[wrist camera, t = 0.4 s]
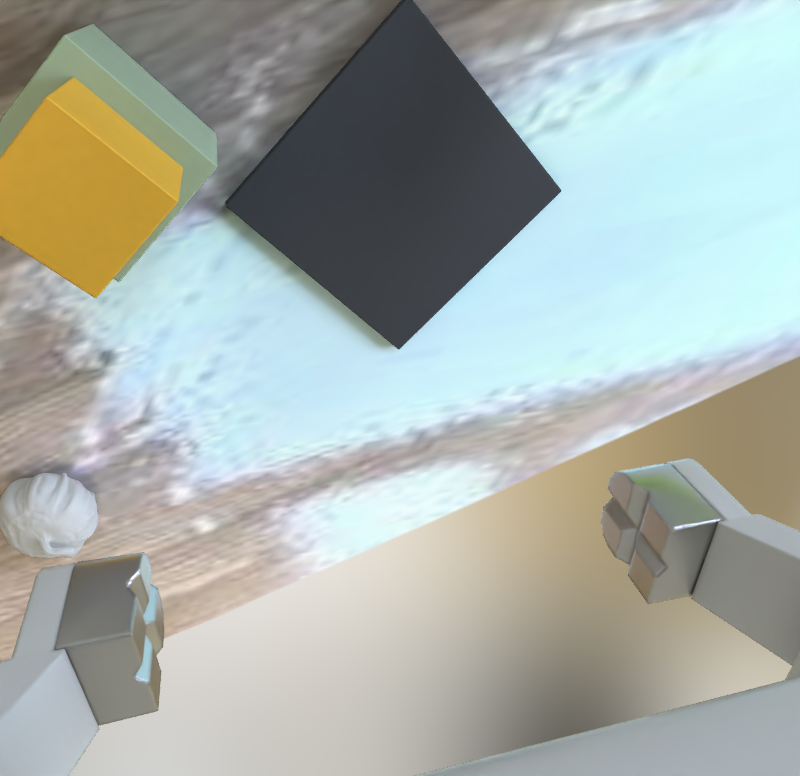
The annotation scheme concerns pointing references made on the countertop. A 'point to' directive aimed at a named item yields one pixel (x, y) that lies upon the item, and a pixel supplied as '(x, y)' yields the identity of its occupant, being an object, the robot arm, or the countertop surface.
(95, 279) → the top cube
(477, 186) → the mat
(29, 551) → the garlic
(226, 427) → the countertop surface
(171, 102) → the base block
